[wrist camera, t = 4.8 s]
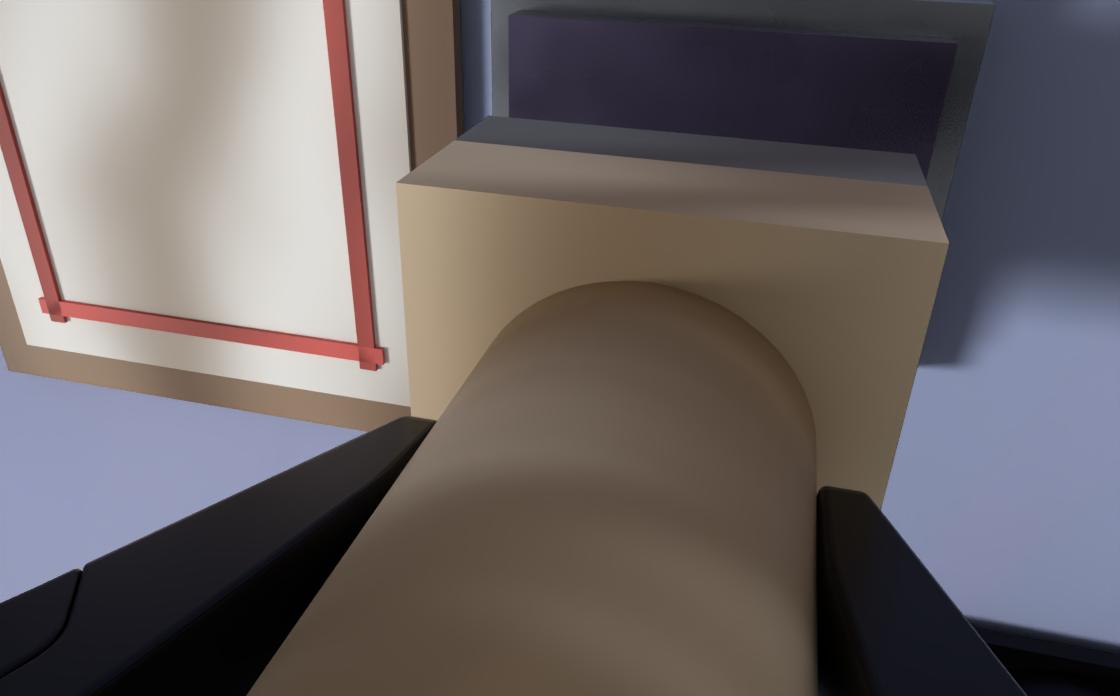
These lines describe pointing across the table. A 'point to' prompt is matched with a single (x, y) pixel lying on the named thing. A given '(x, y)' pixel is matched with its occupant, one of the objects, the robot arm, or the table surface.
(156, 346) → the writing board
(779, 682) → the stamp
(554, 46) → the dark grey flat block
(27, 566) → the table surface
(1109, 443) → the table surface
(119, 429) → the table surface
